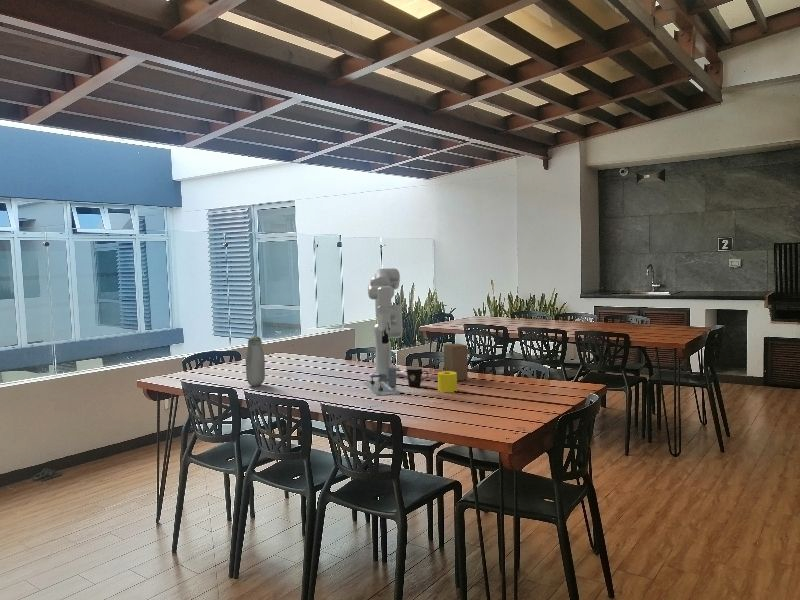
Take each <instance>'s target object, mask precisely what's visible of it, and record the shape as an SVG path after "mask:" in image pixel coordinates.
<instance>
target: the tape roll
mask: <svg viewBox="0 0 800 600" xmlns="http://www.w3.org/2000/svg"><path fill="white" fill-rule="evenodd" d="M456 390H457V391H458V381H457V373H456V372H452V371H444V370H443V371H439V372H437V392H439V391H442V392H452V393H455V392H454V391H456ZM457 391H456V392H457ZM442 392H441V393H442Z"/></svg>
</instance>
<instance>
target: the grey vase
mask: <svg viewBox="0 0 800 600" xmlns="http://www.w3.org/2000/svg"><path fill="white" fill-rule="evenodd" d="M262 343H263V342H262V339H261V337H260V336H257V335H254V336H253V335H252V336H250V337H249V339H247V349H246V354H245V372H246V373H245V374H246V376H245V377H246V381H247V383H248V384H249V386H252V387H258V386H261V385H262V384H263V383H264V381H265V378H266V371H265V370H266V368H265V367H266V366H265V365H266V361H265V358H266V357H265V354H264V350H263V344H262Z"/></svg>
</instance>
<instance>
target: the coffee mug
mask: <svg viewBox="0 0 800 600" xmlns="http://www.w3.org/2000/svg"><path fill="white" fill-rule="evenodd" d="M424 372H425V373H426V374H427V375H426V377H425V378H423V379H422V374H423V373H424ZM406 375H407V382H408V384H407V385H408V387H409V386H410V387H409V388H419V387H418V386H420V387H421V384H422V381H424V380H426V379H427V378H428V377H429V371H428V370H423V367H421V366H408V367H406Z"/></svg>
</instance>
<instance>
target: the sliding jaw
mask: <svg viewBox="0 0 800 600" xmlns="http://www.w3.org/2000/svg"><path fill="white" fill-rule="evenodd" d="M377 381H378V382H379V387H381V382H382V381H386V385H387V386H389V387H393V386H394V387H397V371H396V369H395V367H394V368H386V379H378V378H377Z"/></svg>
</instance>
